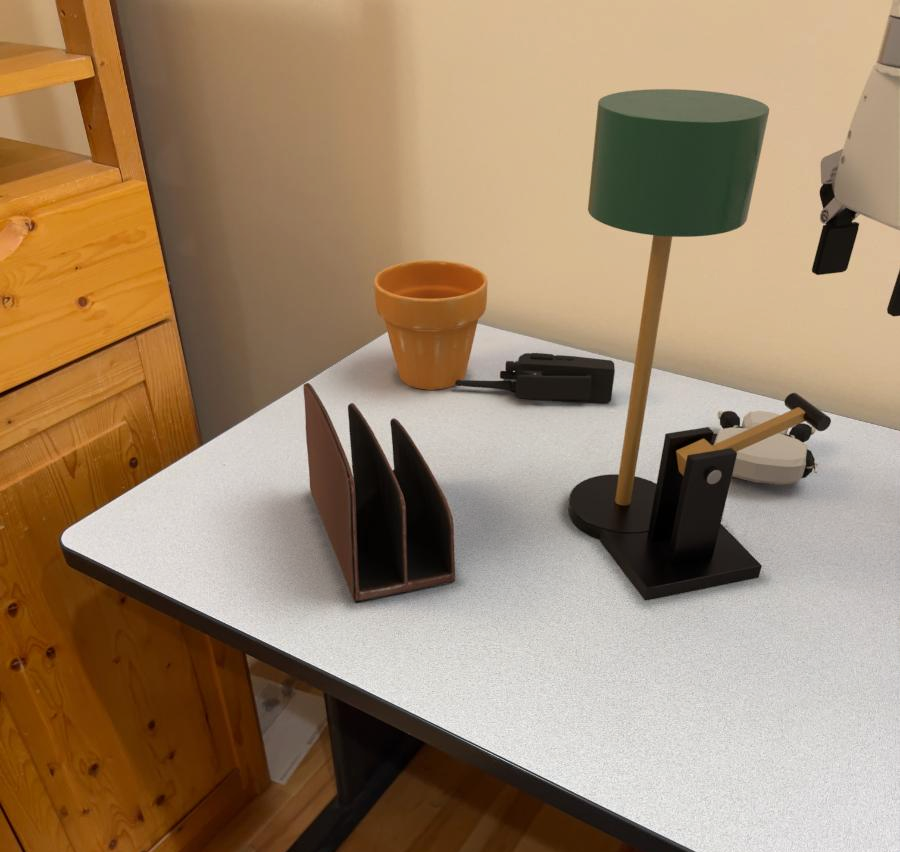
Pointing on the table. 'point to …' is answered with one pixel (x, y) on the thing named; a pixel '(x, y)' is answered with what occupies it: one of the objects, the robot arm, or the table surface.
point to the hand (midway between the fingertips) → (864, 291)
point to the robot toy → (769, 450)
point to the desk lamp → (662, 235)
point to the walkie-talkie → (554, 378)
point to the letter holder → (378, 507)
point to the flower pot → (431, 318)
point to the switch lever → (762, 429)
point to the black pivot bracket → (685, 527)
